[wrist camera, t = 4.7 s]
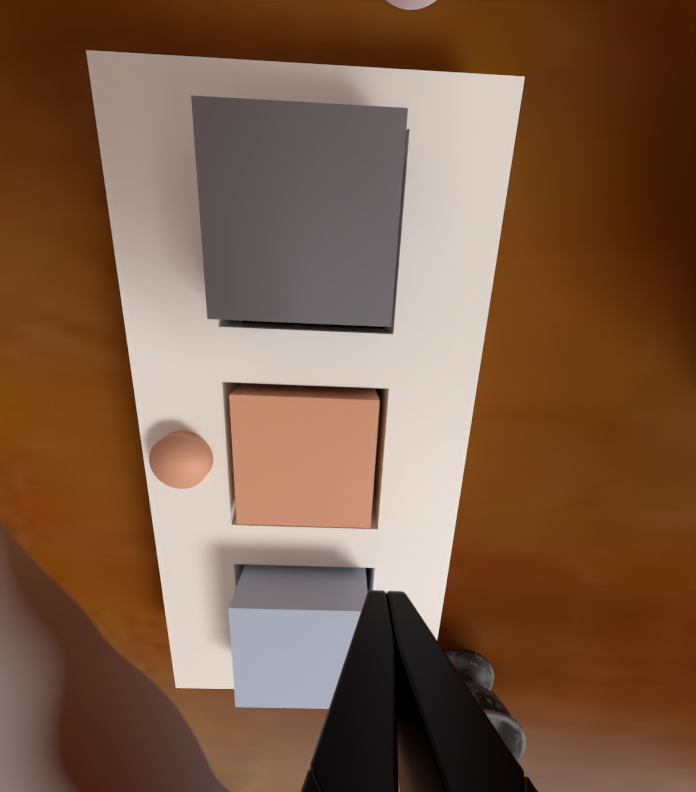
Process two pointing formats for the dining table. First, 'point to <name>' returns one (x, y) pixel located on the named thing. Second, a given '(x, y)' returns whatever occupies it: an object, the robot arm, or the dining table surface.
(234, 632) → the blue key
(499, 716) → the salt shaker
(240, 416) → the terracotta key
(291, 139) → the charcoal key
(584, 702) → the dining table surface
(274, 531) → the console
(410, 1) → the smoothie
